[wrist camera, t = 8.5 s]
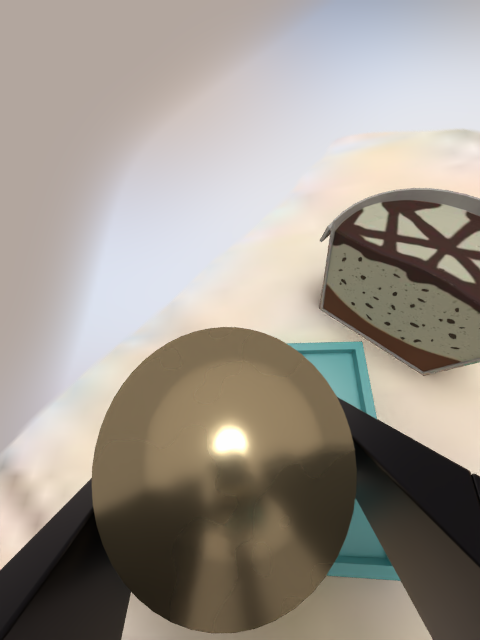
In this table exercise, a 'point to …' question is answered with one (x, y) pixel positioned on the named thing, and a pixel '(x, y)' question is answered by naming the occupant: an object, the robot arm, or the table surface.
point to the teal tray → (354, 388)
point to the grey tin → (224, 480)
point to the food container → (409, 275)
